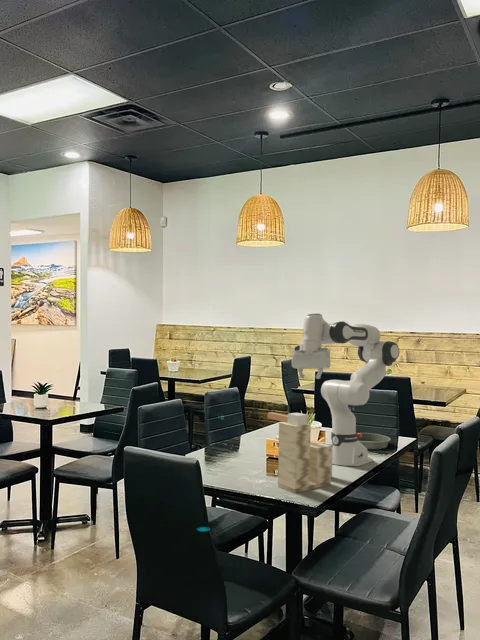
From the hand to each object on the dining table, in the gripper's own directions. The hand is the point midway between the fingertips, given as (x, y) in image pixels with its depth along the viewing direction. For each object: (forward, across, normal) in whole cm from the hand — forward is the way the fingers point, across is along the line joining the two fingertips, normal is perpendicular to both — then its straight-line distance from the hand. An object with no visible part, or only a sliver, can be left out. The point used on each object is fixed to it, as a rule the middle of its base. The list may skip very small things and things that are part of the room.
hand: (309, 378), depth 256 cm
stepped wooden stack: (+45, -12, +13) cm, 48 cm away
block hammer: (+20, -8, +23) cm, 31 cm away
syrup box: (+42, -9, -3) cm, 43 cm away
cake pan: (+30, +15, -71) cm, 78 cm away
